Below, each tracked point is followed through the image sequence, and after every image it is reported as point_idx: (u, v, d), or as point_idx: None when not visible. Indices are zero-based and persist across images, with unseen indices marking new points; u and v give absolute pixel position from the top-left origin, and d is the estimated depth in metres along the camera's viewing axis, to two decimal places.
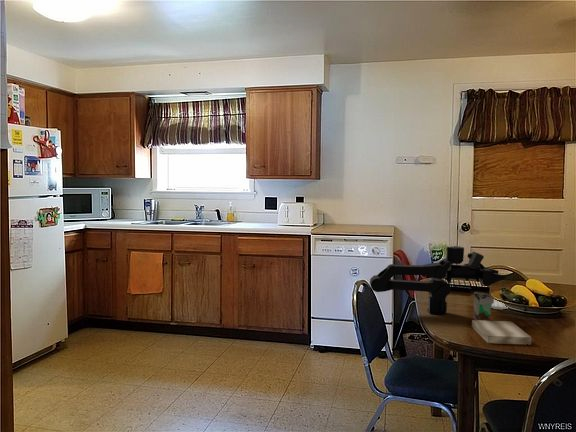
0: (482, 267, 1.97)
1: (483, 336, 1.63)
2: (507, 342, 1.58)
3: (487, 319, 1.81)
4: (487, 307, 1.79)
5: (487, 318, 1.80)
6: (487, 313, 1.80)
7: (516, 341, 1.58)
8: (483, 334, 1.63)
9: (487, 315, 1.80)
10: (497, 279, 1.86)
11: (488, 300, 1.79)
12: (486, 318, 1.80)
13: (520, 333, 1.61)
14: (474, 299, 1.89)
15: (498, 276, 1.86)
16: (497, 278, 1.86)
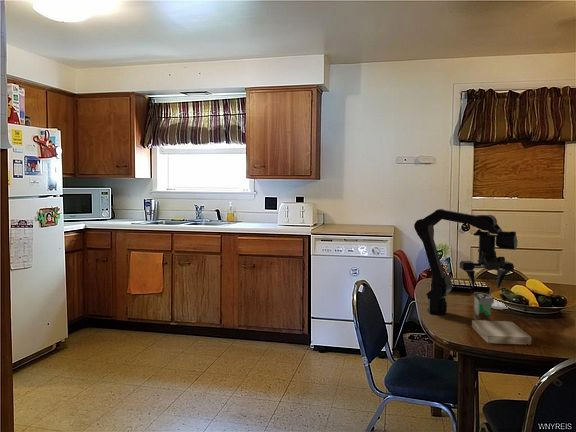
0: (501, 272, 1.81)
1: (483, 336, 1.63)
2: (507, 342, 1.58)
3: (487, 319, 1.81)
4: (487, 307, 1.79)
5: (487, 318, 1.80)
6: (487, 313, 1.80)
7: (516, 341, 1.58)
8: (483, 334, 1.63)
9: (487, 315, 1.80)
10: (469, 278, 1.84)
11: (488, 300, 1.79)
12: (486, 318, 1.80)
13: (520, 333, 1.61)
14: (474, 299, 1.89)
15: (470, 279, 1.83)
16: (470, 278, 1.84)
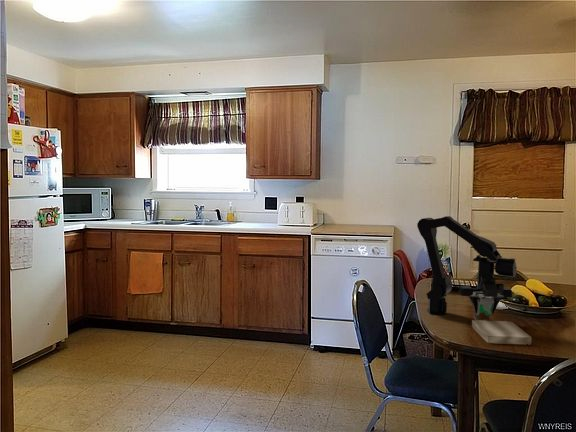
0: (495, 298, 1.82)
1: (483, 336, 1.63)
2: (507, 342, 1.58)
3: (487, 319, 1.81)
4: (487, 307, 1.79)
5: (487, 318, 1.80)
6: (487, 313, 1.80)
7: (516, 341, 1.58)
8: (483, 334, 1.63)
9: (487, 315, 1.80)
10: (472, 303, 1.85)
11: (488, 300, 1.79)
12: (486, 318, 1.80)
13: (520, 333, 1.61)
14: None
15: (473, 304, 1.84)
16: (472, 303, 1.85)
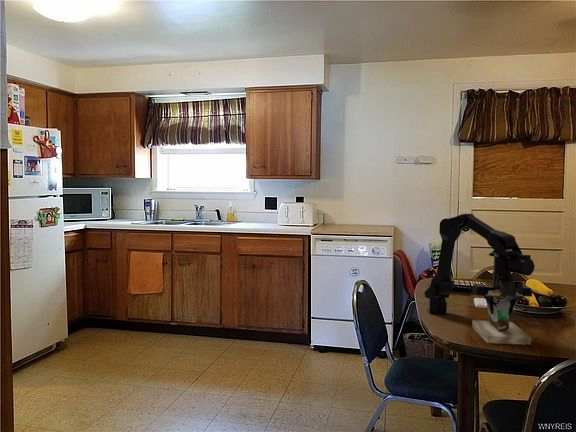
0: (513, 297, 1.65)
1: (483, 336, 1.63)
2: (507, 342, 1.58)
3: (507, 324, 1.64)
4: (505, 312, 1.63)
5: (506, 323, 1.64)
6: (506, 318, 1.64)
7: (516, 341, 1.58)
8: (483, 334, 1.63)
9: (506, 320, 1.64)
10: (487, 303, 1.68)
11: (505, 304, 1.62)
12: (506, 323, 1.64)
13: (520, 334, 1.61)
14: None
15: (489, 304, 1.67)
16: (488, 303, 1.67)
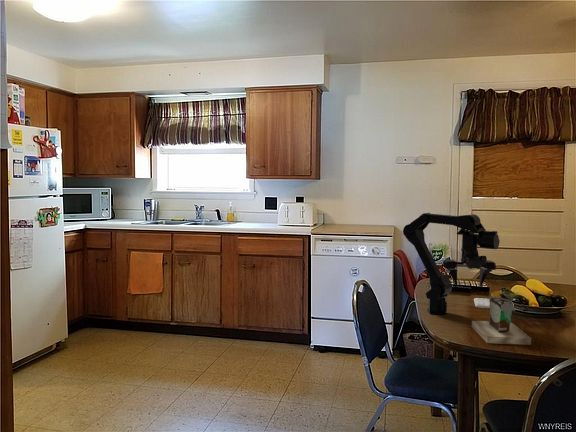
0: (483, 271, 1.83)
1: (483, 337, 1.63)
2: (507, 343, 1.58)
3: (507, 327, 1.64)
4: (508, 314, 1.62)
5: (508, 326, 1.63)
6: (508, 320, 1.63)
7: (515, 342, 1.58)
8: (483, 335, 1.63)
9: (508, 322, 1.63)
10: (452, 276, 1.87)
11: (510, 306, 1.62)
12: (507, 326, 1.63)
13: (520, 334, 1.61)
14: (490, 304, 1.72)
15: (453, 277, 1.86)
16: (453, 276, 1.86)
